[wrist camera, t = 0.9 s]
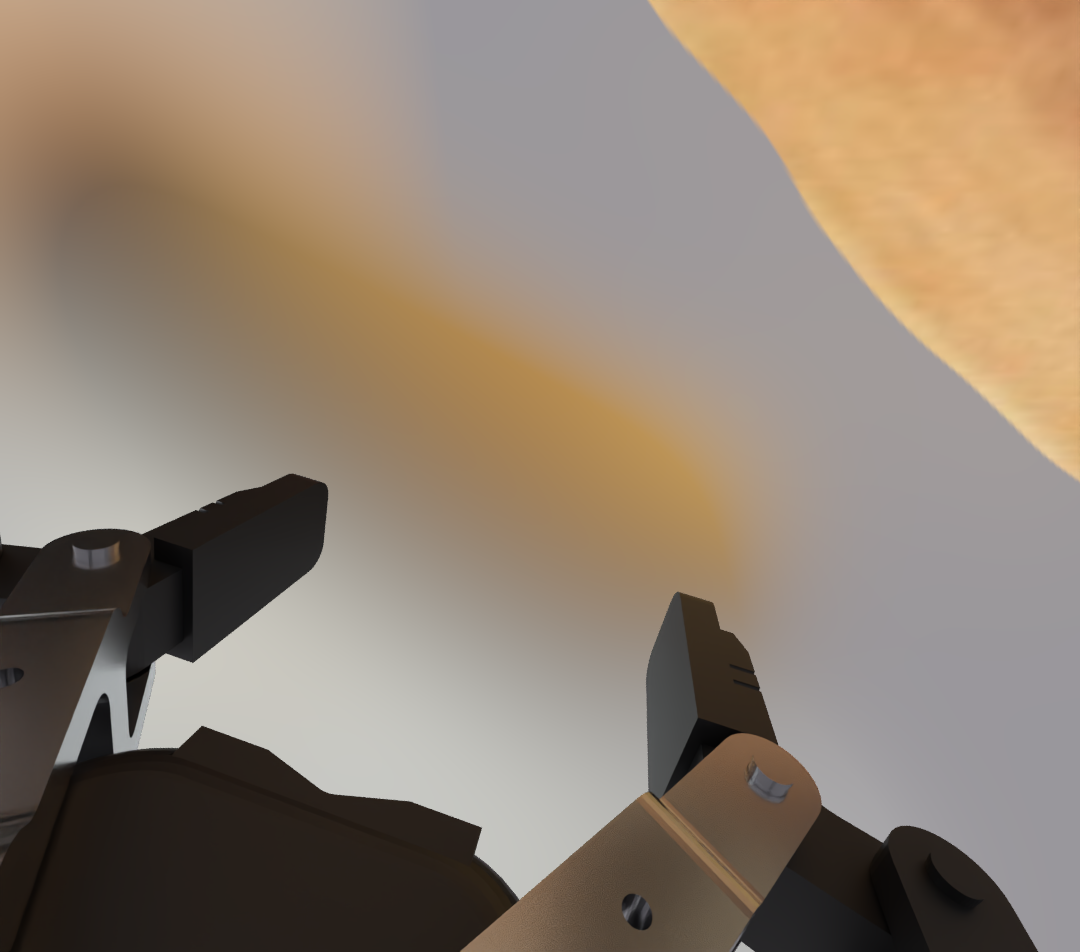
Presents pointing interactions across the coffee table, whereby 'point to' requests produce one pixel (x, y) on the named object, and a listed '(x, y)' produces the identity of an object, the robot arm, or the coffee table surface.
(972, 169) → the coffee table surface
